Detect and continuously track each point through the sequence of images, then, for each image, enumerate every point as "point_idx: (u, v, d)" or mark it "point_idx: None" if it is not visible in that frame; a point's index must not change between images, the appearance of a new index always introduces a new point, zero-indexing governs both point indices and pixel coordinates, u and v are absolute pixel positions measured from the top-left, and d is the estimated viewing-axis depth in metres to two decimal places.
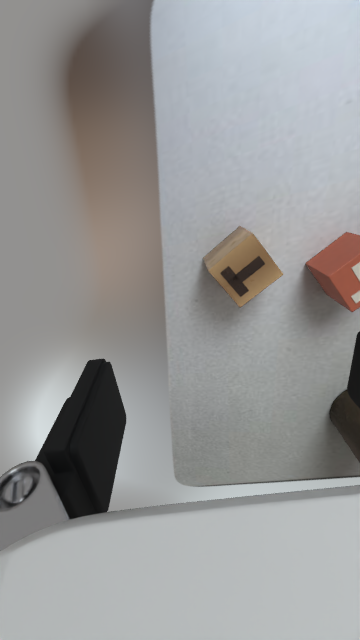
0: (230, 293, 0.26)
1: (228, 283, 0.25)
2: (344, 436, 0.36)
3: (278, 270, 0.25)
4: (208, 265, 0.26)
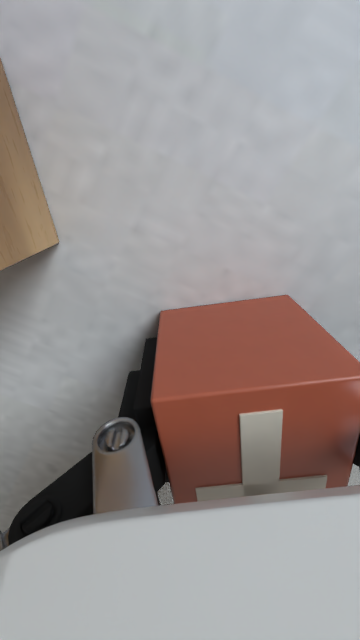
0: None
1: None
2: None
3: None
4: None
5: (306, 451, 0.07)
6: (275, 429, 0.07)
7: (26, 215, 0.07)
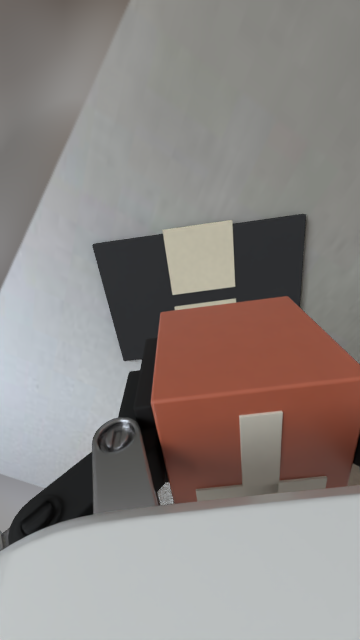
0: None
1: None
2: None
3: None
4: None
5: (306, 453, 0.07)
6: (274, 430, 0.07)
7: None
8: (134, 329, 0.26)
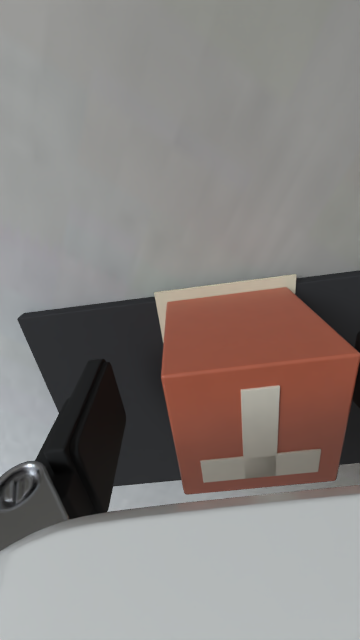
0: None
1: None
2: None
3: None
4: None
5: (301, 426, 0.08)
6: (273, 404, 0.07)
7: None
8: None
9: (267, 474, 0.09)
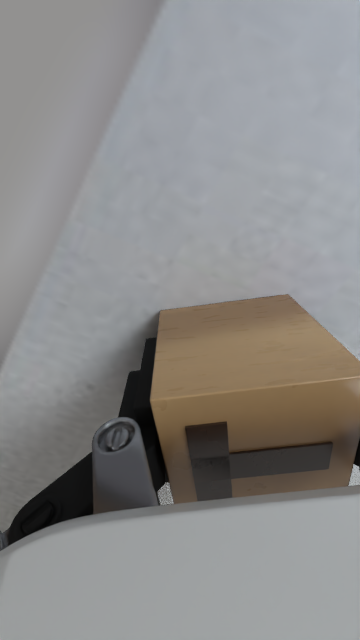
0: (176, 486, 0.07)
1: (191, 463, 0.07)
2: None
3: None
4: (161, 362, 0.07)
5: None
6: None
7: None
8: None
9: None
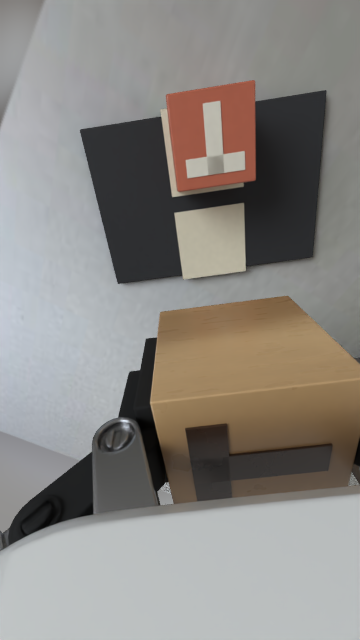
0: (176, 487, 0.07)
1: (191, 464, 0.07)
2: None
3: None
4: (161, 363, 0.07)
5: (233, 132, 0.16)
6: (218, 114, 0.15)
7: None
8: (129, 243, 0.23)
9: (220, 173, 0.17)
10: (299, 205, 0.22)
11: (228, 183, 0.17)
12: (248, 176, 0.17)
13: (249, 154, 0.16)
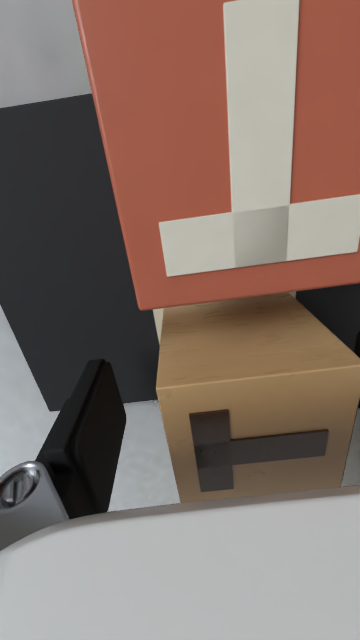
0: (180, 472, 0.08)
1: (194, 449, 0.07)
2: None
3: (337, 481, 0.08)
4: (166, 353, 0.08)
5: (335, 128, 0.04)
6: (285, 56, 0.04)
7: None
8: (63, 348, 0.12)
9: (273, 261, 0.05)
10: None
11: (296, 289, 0.05)
12: None
13: None
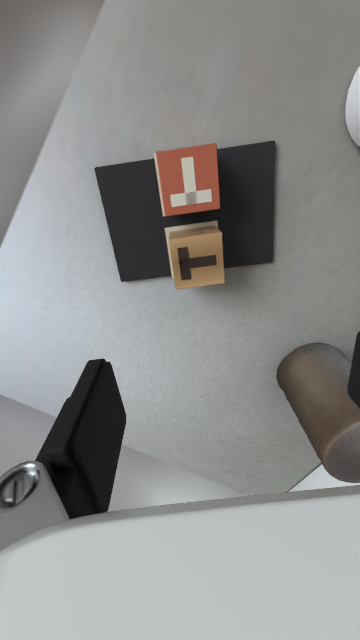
0: (175, 271, 0.27)
1: (179, 261, 0.26)
2: None
3: (223, 277, 0.27)
4: (171, 236, 0.26)
5: (203, 177, 0.23)
6: (192, 165, 0.23)
7: None
8: (130, 250, 0.31)
9: (194, 203, 0.24)
10: (259, 222, 0.30)
11: (200, 210, 0.24)
12: (214, 206, 0.24)
13: (214, 191, 0.23)
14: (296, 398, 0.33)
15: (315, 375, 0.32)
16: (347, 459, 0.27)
